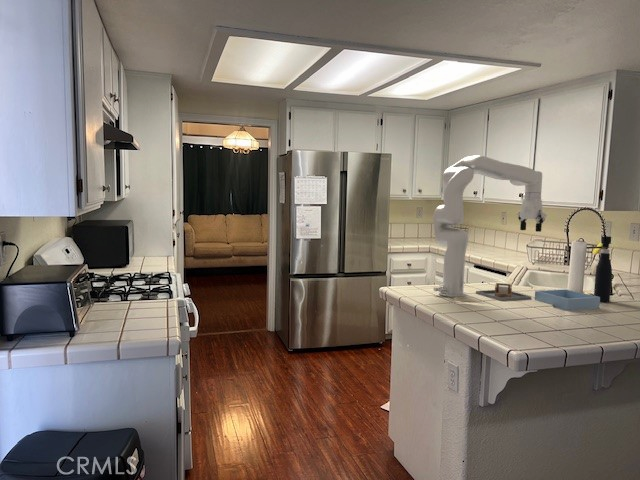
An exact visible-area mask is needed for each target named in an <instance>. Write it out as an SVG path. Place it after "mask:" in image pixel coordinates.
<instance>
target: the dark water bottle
mask: <svg viewBox="0 0 640 480" xmlns="http://www.w3.org/2000/svg"><path fill="white" fill-rule="evenodd" d="M603 236H605V235H603ZM603 236H601V240H600V243H601V244H602V246H601V247H602V249H601V250H600V256H599V260H598V261H597V265H596V268H595V277H594V289H593V290H594V291H593V296H598V297H600V303H610V301H611V300H610V299H611V298H610V297H611V288H612V275H613V274H612V273H613V268H612V263H611V260H610V257H611V254H610V251H611V250H610V249H609V248H610V244H612V236H608V235H607V236H605V237H606V242H605V237H603Z"/></svg>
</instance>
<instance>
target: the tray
mask: <svg viewBox="0 0 640 480" xmlns="http://www.w3.org/2000/svg"><path fill="white" fill-rule="evenodd" d="M475 295H480V296H483V297H486V298H490V299H493V300H497V301H501V302H507V301H523V300H525V301H526V300H532V296H530V295H526V294H524V293H520V292H516V291H512V292H511V297H508V298H500V297H497V296H495V289H491V290H490V289H489V290H476V291H475Z"/></svg>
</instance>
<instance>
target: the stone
mask: <svg viewBox="0 0 640 480" xmlns="http://www.w3.org/2000/svg"><path fill="white" fill-rule="evenodd" d="M498 293H503V294H508V286H505V285H499V292H498Z"/></svg>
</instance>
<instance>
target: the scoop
mask: <svg viewBox="0 0 640 480" xmlns="http://www.w3.org/2000/svg"><path fill="white" fill-rule="evenodd" d="M499 285H505V286H508V294H503V293H498V292H499ZM512 286H513V285H512V284H511V283H503V282H502V283H501V282H496V283H495V285H494V290H495V296H497V297H500V298H508V297H511V292H513V290H512V289H513V288H512Z"/></svg>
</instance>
